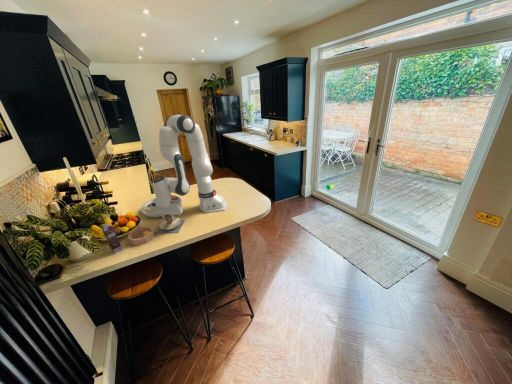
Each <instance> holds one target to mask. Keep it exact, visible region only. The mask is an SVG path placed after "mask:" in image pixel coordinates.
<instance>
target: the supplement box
mask: <svg viewBox="0 0 512 384" xmlns="http://www.w3.org/2000/svg"><path fill="white" fill-rule="evenodd" d="M100 229H101V231H102V233H103V236H104V238H105V240H106V243H107V245H108V247H109V249H110V250H111V251H112V253H113V254H114V255H115V254H117V253H119V252H121V251H123V247H122V245H121V243H120V240H119V238H118V235H117V233H116V230H115V228H114V227H113V226H112V224H110V222H108V223H105V224H103V225H101V226H100Z"/></svg>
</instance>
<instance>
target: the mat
mask: <svg viewBox="0 0 512 384" xmlns="http://www.w3.org/2000/svg"><path fill="white" fill-rule="evenodd" d="M180 220H181V223H180V225H179V226H177V227H176V228H173V229H170V230H163V229H160V227H158V228H157V230H156V231H155V234H178V233H179V232H180V231H181V229H182V227H183V226H184V224H185V222H186V219H180Z"/></svg>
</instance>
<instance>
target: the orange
mask: <svg viewBox="0 0 512 384" xmlns="http://www.w3.org/2000/svg"><path fill="white" fill-rule="evenodd" d="M149 233H150V232H149V231H145V232H144V233H142V237H145V236H147V235H148V234H149Z"/></svg>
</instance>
